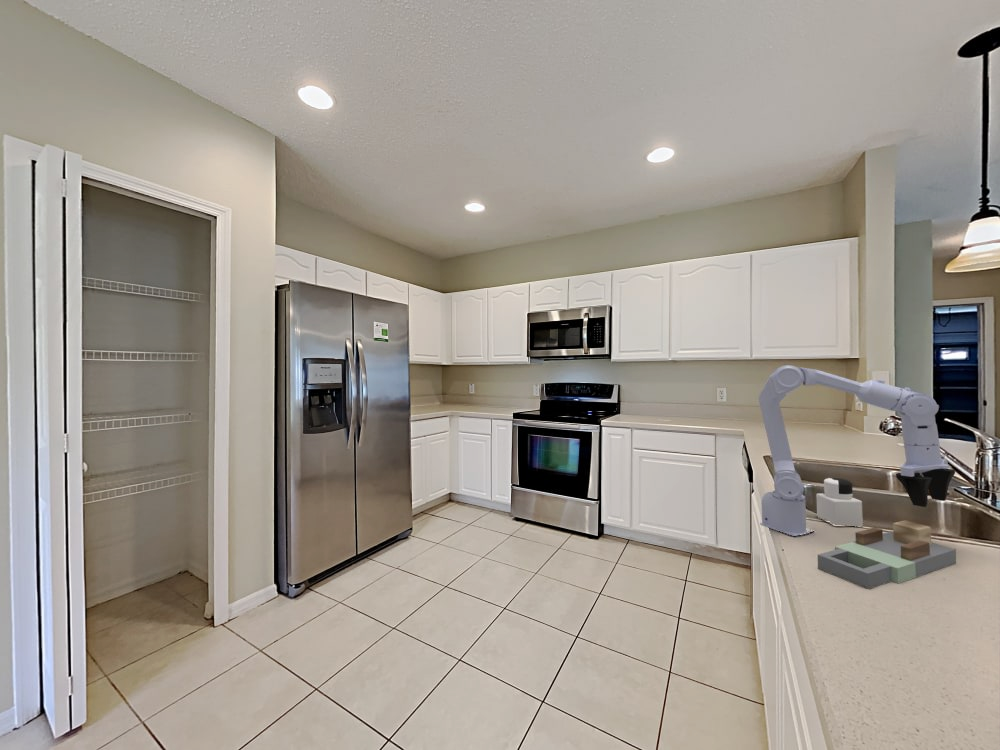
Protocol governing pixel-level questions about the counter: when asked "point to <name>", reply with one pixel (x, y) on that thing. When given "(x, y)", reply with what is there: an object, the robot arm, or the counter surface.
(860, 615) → the counter surface
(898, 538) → the maple block
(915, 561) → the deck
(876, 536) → the brown rectangular blocks
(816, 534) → the counter surface
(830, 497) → the white stepped box
